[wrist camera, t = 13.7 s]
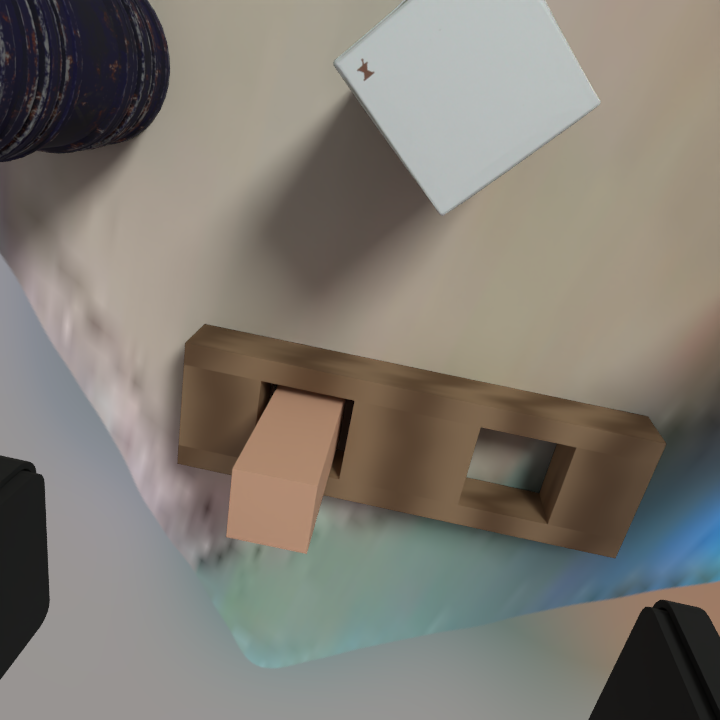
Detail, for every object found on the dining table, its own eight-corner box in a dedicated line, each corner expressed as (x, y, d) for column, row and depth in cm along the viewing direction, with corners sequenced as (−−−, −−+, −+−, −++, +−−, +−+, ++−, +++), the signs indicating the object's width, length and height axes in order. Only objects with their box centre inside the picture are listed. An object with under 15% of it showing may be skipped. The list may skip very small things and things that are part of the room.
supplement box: (435, 184, 36) (435, 224, 24) (361, 72, 34) (324, 58, 23) (548, 104, 34) (607, 106, 22) (475, -21, 32) (499, -90, 20)
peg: (348, 384, 42) (317, 485, 31) (338, 439, 44) (306, 553, 33) (285, 372, 42) (232, 468, 31) (278, 427, 44) (226, 537, 33)
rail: (647, 416, 40) (666, 443, 37) (602, 524, 44) (615, 558, 41) (204, 324, 41) (185, 342, 38) (195, 437, 45) (177, 463, 42)
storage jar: (15, -71, 33) (-277, -191, 20) (187, -10, 34) (16, -86, 20) (1, 116, 37) (-249, 125, 24) (155, 170, 38) (-5, 209, 24)
